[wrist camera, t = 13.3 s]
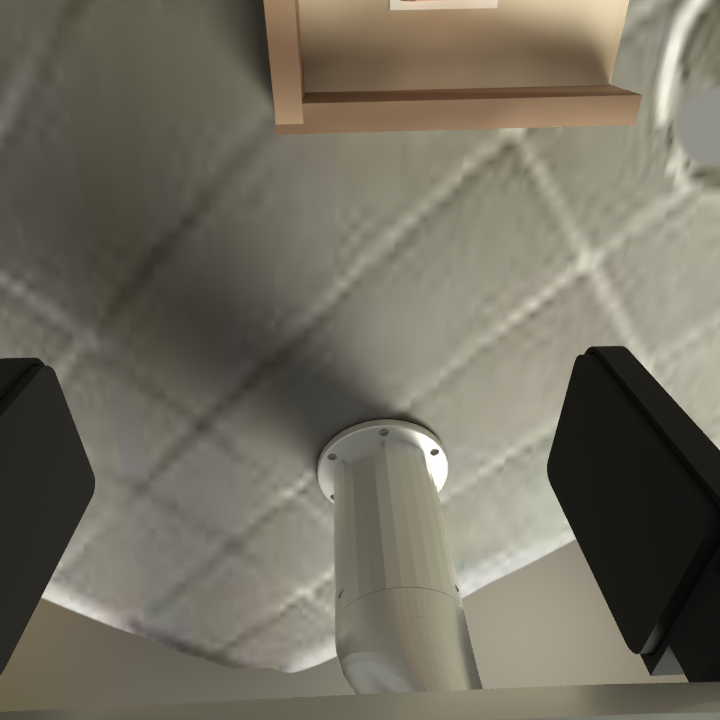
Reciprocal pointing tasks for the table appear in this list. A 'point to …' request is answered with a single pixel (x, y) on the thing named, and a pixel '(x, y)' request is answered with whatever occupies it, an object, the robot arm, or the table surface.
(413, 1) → the terracotta block
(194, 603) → the table surface
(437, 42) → the corner arena
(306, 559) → the table surface
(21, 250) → the table surface
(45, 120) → the table surface
